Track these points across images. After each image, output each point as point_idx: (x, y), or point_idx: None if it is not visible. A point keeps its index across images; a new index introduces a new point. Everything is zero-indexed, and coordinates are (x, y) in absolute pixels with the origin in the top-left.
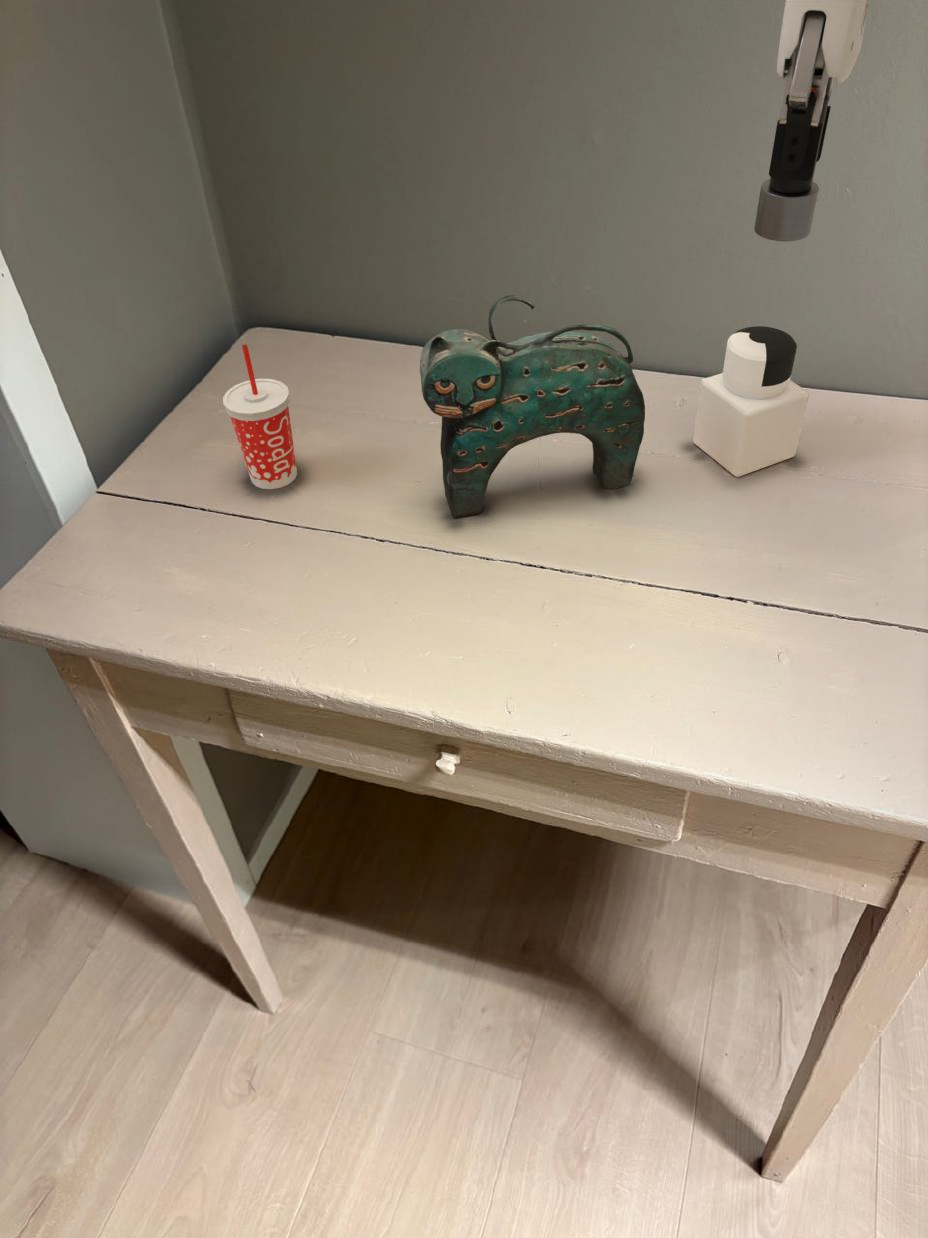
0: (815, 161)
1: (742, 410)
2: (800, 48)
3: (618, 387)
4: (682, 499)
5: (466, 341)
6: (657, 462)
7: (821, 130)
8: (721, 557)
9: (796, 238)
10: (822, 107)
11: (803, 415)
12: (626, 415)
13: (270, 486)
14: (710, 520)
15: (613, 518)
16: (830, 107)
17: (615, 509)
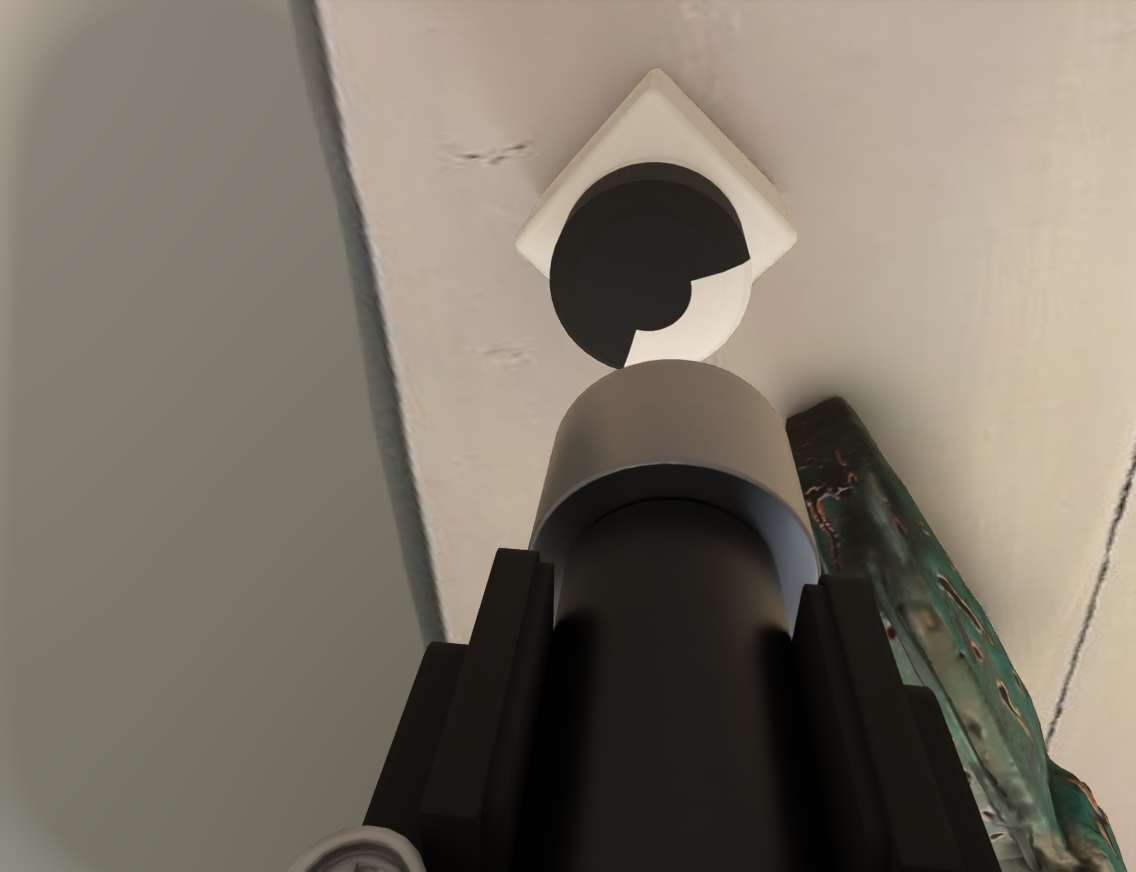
0: (710, 601)
1: (781, 254)
2: None
3: (945, 575)
4: (874, 289)
5: None
6: (746, 360)
7: (904, 814)
8: (1082, 174)
9: (772, 409)
10: None
11: (660, 83)
12: (917, 509)
13: None
14: (945, 220)
15: (959, 403)
16: (436, 805)
17: (928, 405)
